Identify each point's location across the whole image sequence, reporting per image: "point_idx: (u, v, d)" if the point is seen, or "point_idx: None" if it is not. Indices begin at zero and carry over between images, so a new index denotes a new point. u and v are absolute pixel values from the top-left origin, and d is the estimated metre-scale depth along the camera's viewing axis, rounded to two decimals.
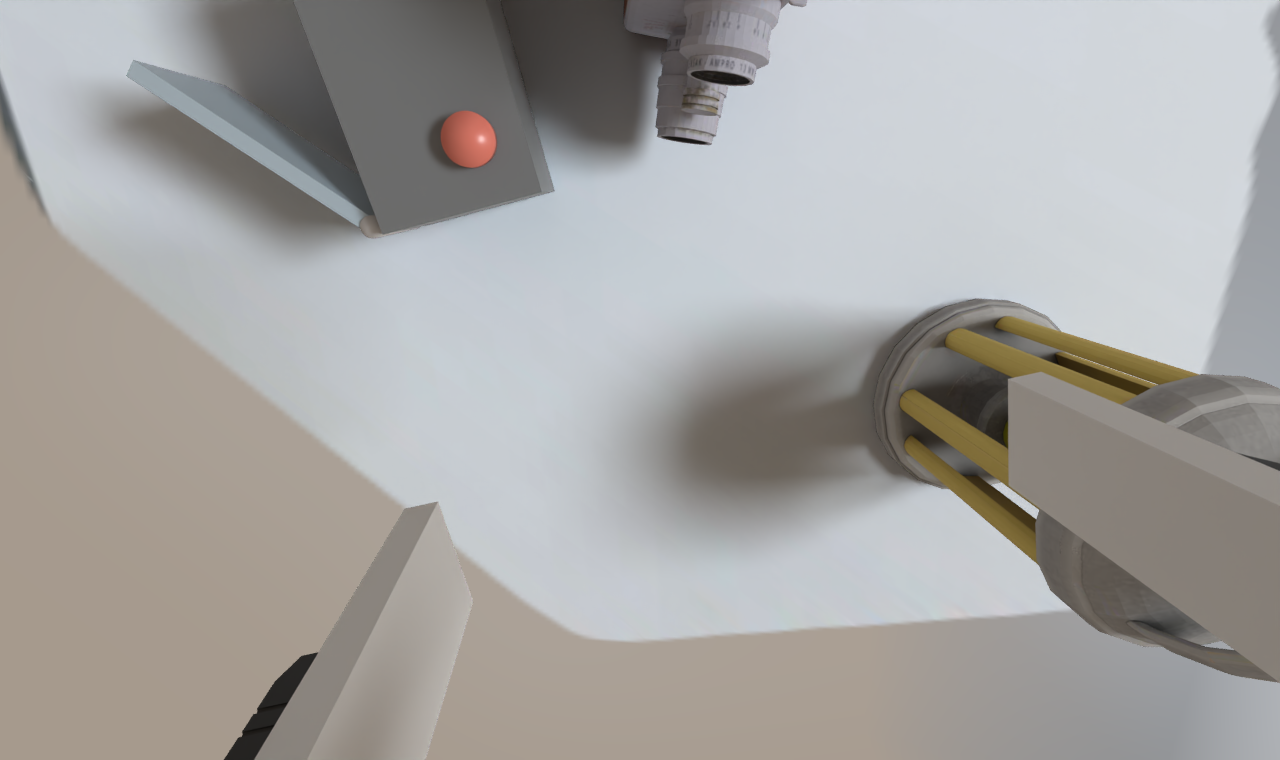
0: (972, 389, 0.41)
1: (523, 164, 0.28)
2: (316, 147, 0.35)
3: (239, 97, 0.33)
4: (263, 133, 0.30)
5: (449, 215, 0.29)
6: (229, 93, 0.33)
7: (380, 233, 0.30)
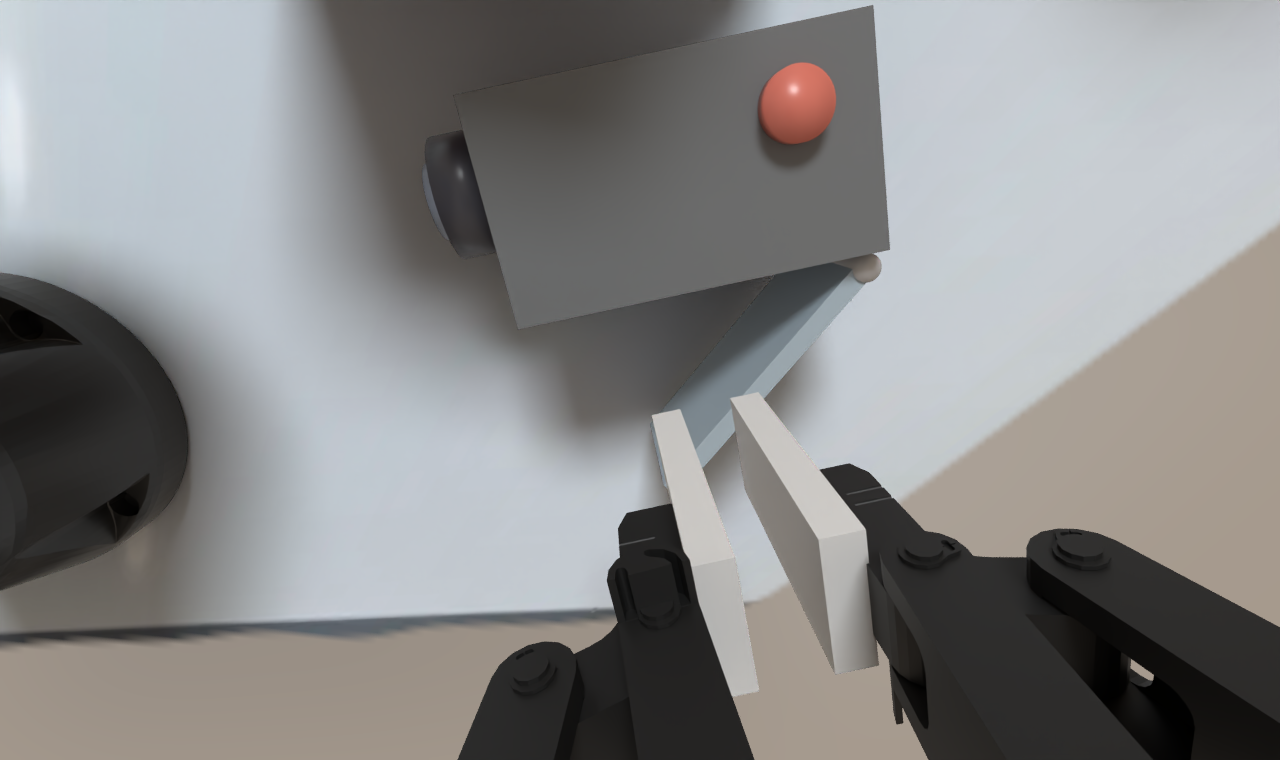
0: None
1: (832, 30, 0.20)
2: (717, 345, 0.31)
3: (664, 411, 0.31)
4: (728, 382, 0.27)
5: (881, 153, 0.21)
6: None
7: (876, 258, 0.23)
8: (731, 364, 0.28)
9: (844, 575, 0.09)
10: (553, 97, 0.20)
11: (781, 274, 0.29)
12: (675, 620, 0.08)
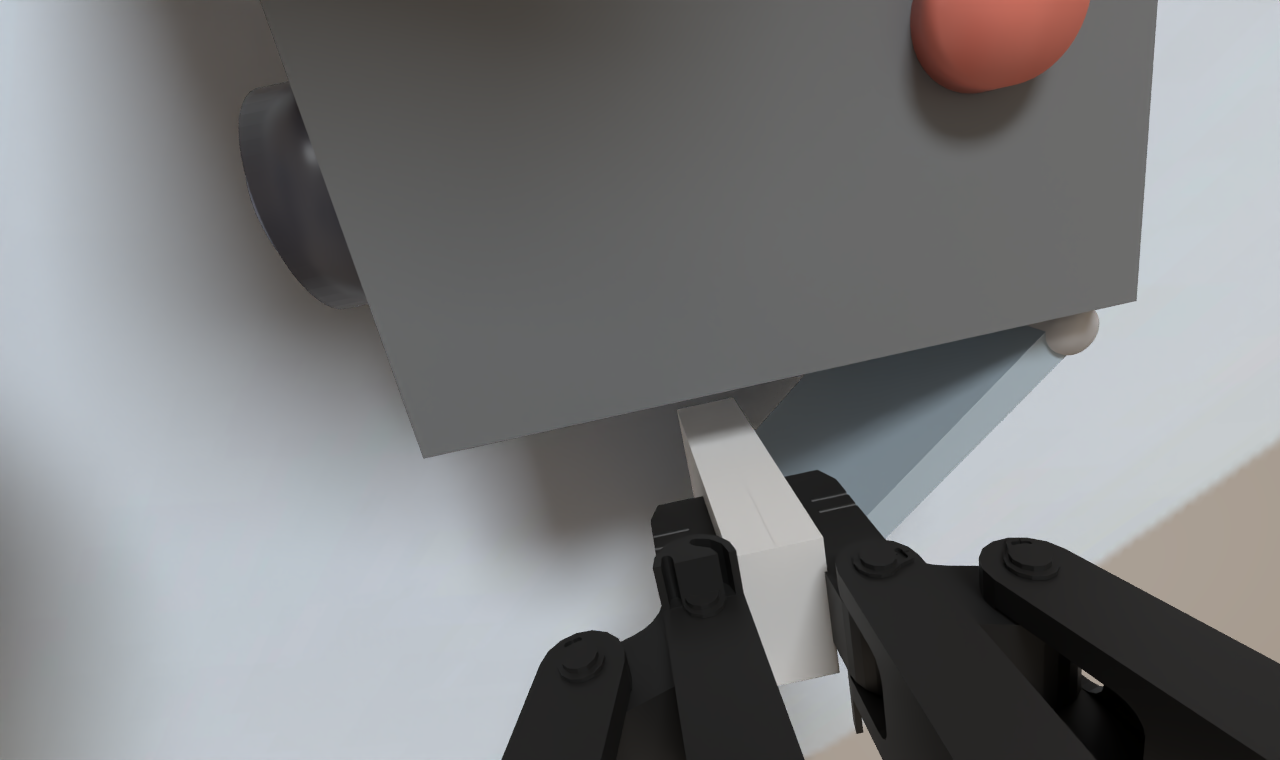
0: None
1: None
2: (764, 422, 0.20)
3: None
4: None
5: (1145, 114, 0.10)
6: None
7: (1091, 312, 0.13)
8: (798, 469, 0.17)
9: (803, 583, 0.09)
10: None
11: None
12: (720, 610, 0.08)
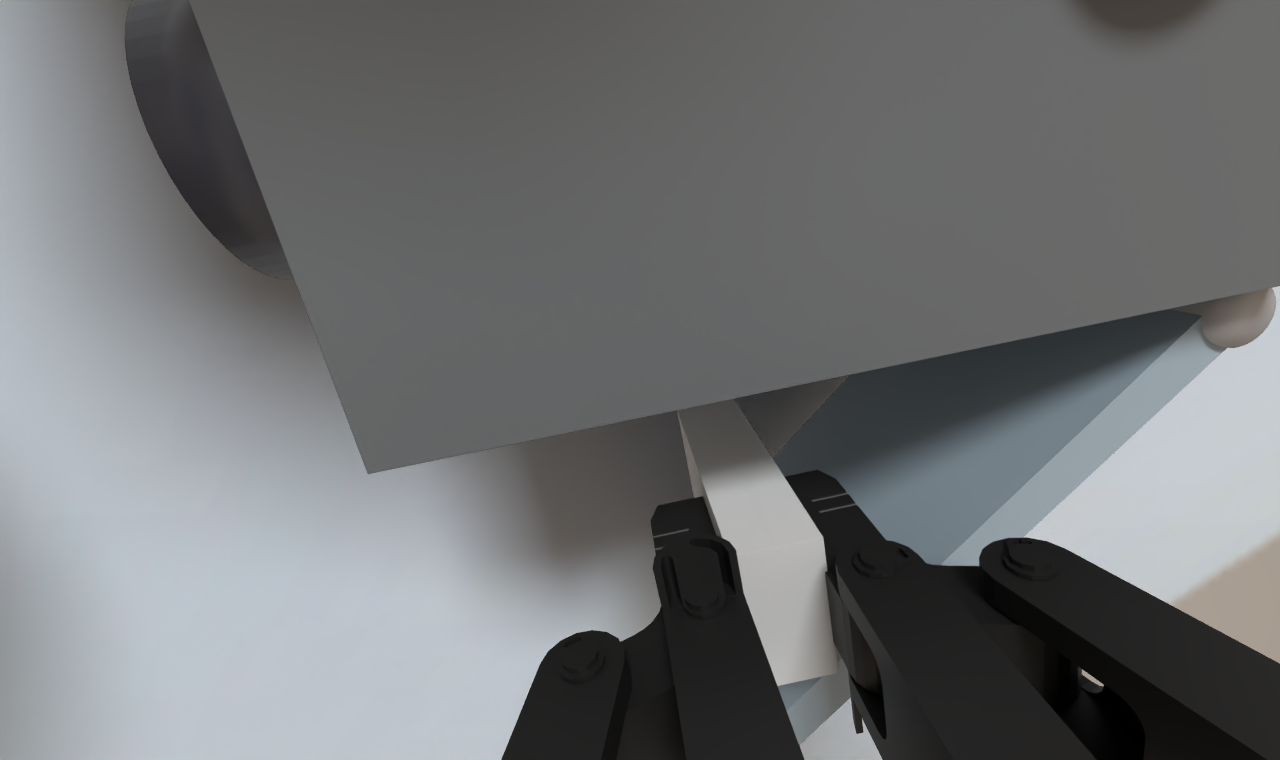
0: None
1: None
2: (802, 430, 0.17)
3: None
4: None
5: None
6: None
7: (1266, 290, 0.09)
8: (849, 487, 0.14)
9: (803, 583, 0.09)
10: None
11: None
12: (720, 610, 0.08)
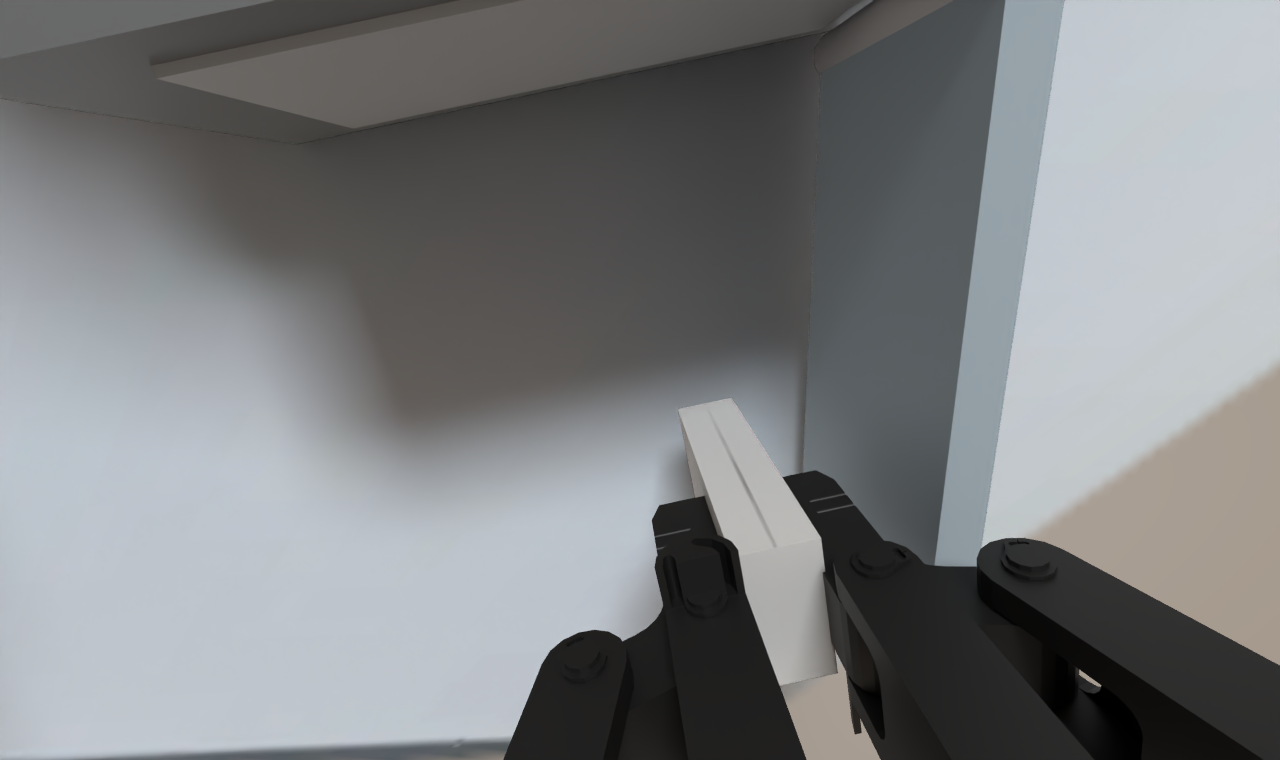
0: None
1: None
2: (811, 321, 0.16)
3: None
4: (887, 401, 0.12)
5: None
6: None
7: None
8: (865, 355, 0.13)
9: (800, 584, 0.09)
10: None
11: (827, 131, 0.14)
12: (722, 609, 0.08)
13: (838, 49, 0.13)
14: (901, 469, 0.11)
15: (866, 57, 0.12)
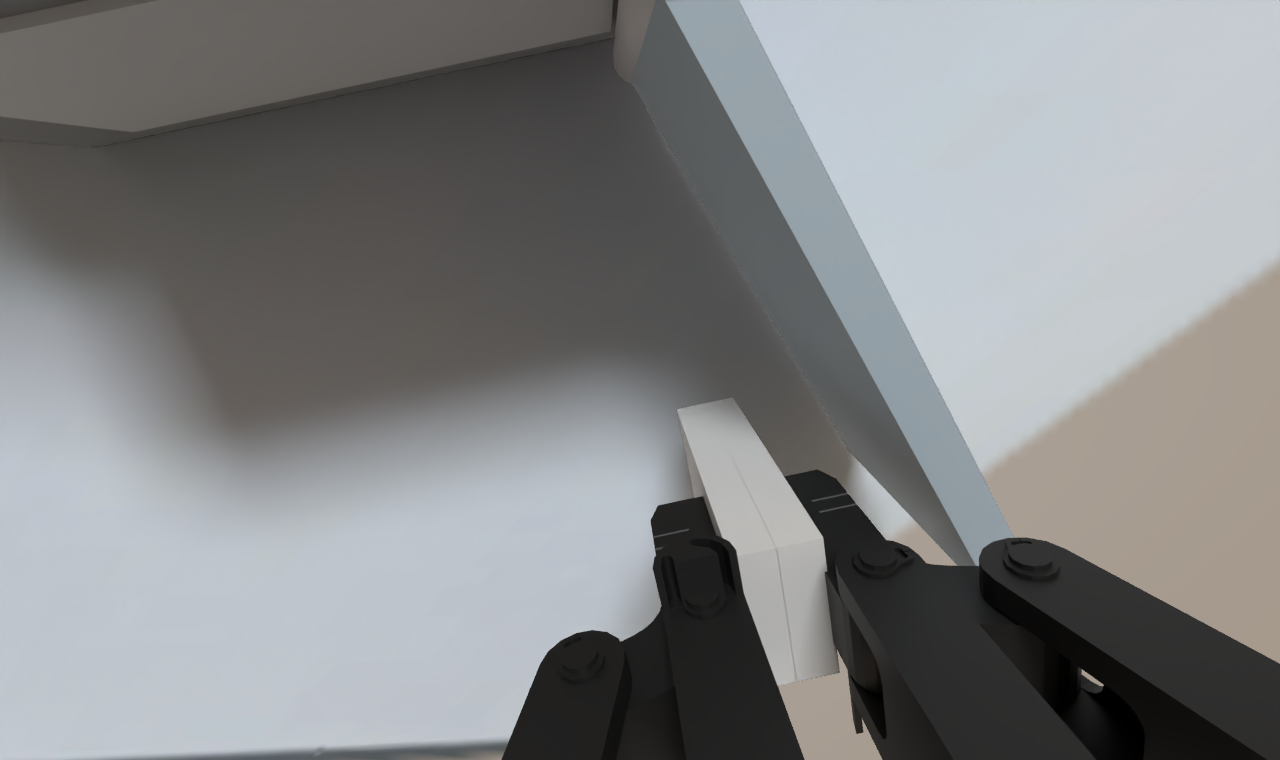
0: None
1: None
2: (757, 295, 0.16)
3: (838, 427, 0.17)
4: (833, 363, 0.12)
5: None
6: (850, 442, 0.16)
7: None
8: (799, 323, 0.13)
9: (803, 583, 0.09)
10: None
11: (664, 131, 0.14)
12: (720, 610, 0.08)
13: (624, 65, 0.13)
14: (876, 421, 0.11)
15: (642, 68, 0.12)
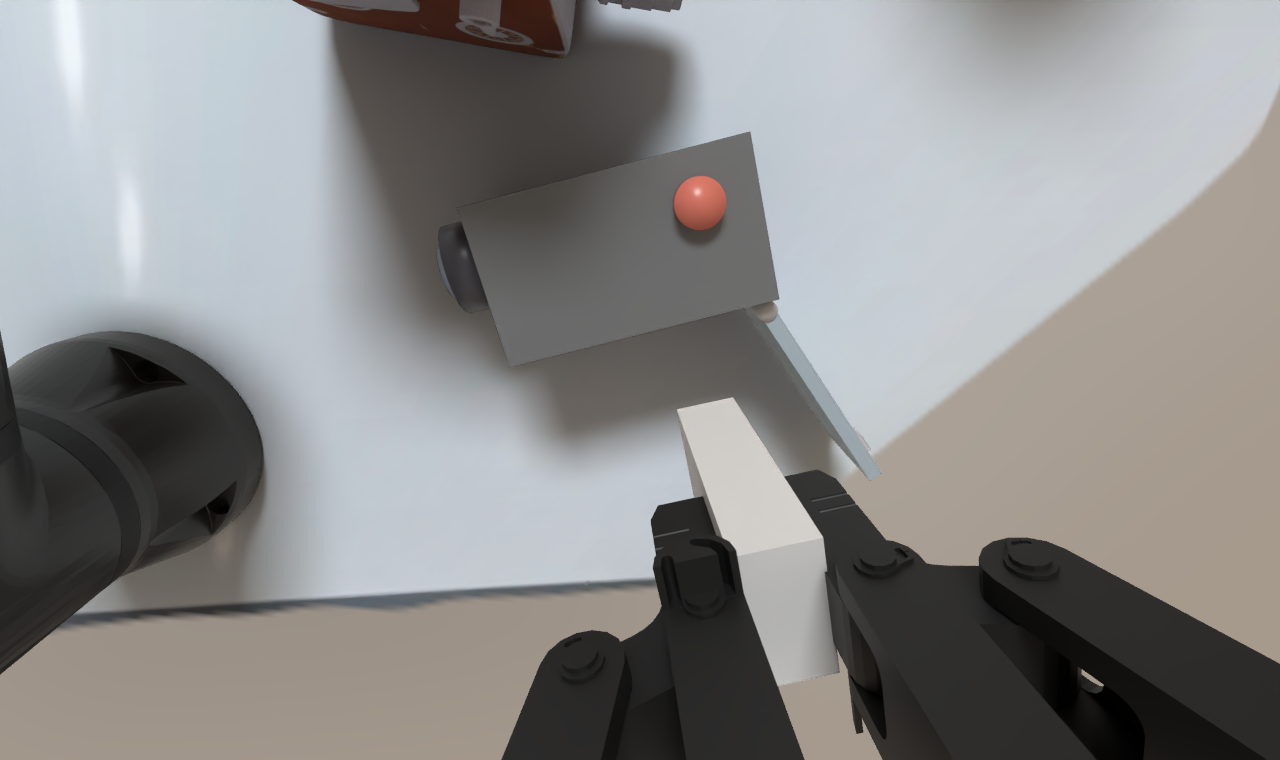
0: None
1: (722, 149, 0.28)
2: None
3: (822, 424, 0.40)
4: (814, 403, 0.35)
5: (766, 232, 0.29)
6: (826, 429, 0.40)
7: (762, 303, 0.31)
8: (803, 389, 0.36)
9: (802, 583, 0.09)
10: (526, 205, 0.28)
11: (750, 317, 0.38)
12: (720, 610, 0.08)
13: None
14: (828, 422, 0.35)
15: None
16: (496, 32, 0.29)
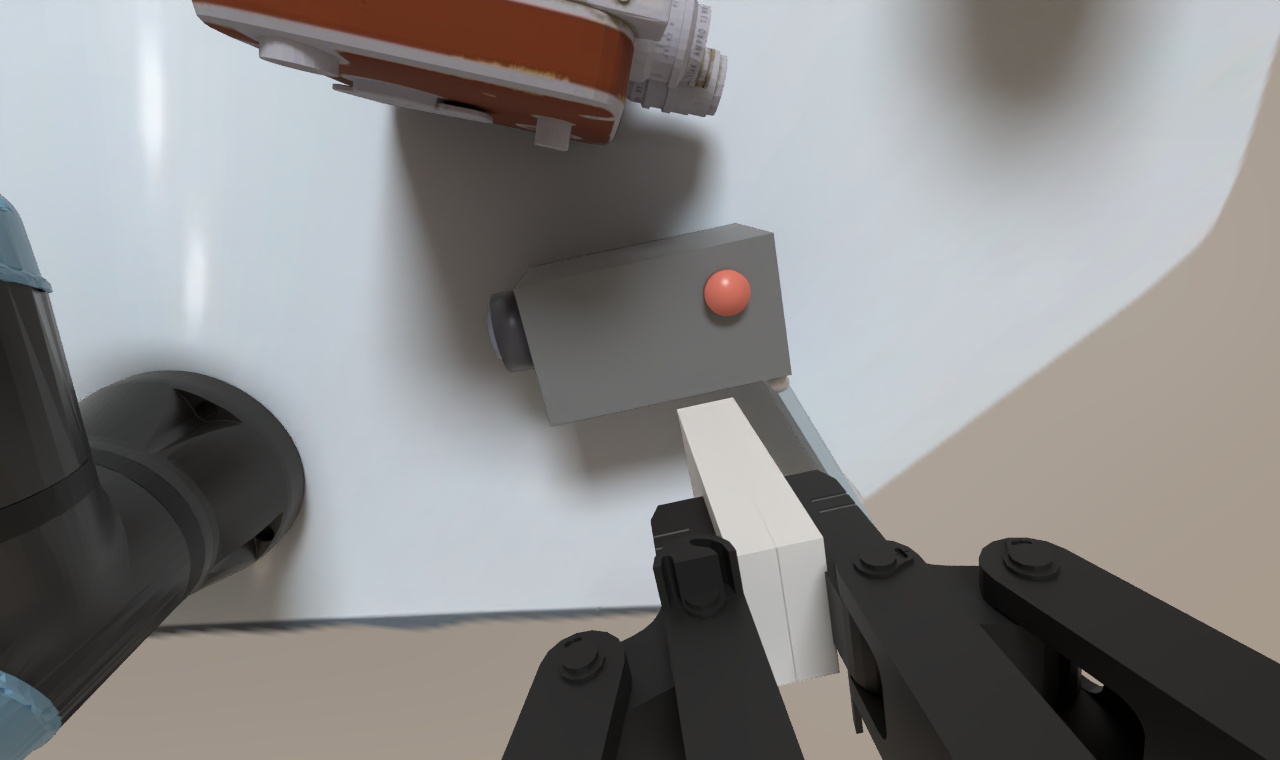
0: None
1: (748, 247, 0.32)
2: (790, 425, 0.44)
3: None
4: (816, 459, 0.39)
5: (783, 317, 0.33)
6: None
7: None
8: (805, 444, 0.40)
9: (803, 583, 0.09)
10: (574, 288, 0.32)
11: None
12: (720, 610, 0.08)
13: None
14: None
15: None
16: None
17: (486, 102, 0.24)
